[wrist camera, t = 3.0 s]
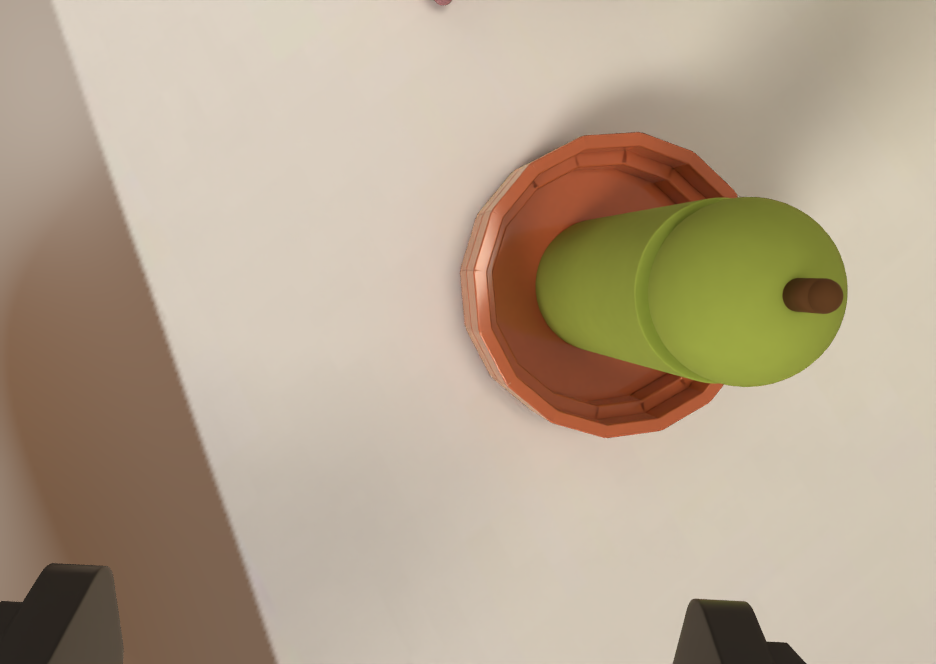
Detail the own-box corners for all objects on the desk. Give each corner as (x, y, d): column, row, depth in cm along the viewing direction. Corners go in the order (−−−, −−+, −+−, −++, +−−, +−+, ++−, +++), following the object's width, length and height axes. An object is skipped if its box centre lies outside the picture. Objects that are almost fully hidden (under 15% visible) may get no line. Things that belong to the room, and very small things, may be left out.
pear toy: (518, 329, 33) (695, 377, 18) (557, 201, 33) (767, 144, 18) (638, 366, 34) (898, 439, 19) (676, 242, 34) (966, 220, 19)
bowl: (423, 378, 33) (436, 390, 30) (506, 107, 33) (528, 89, 30) (675, 451, 35) (711, 468, 32) (753, 197, 35) (797, 189, 32)
